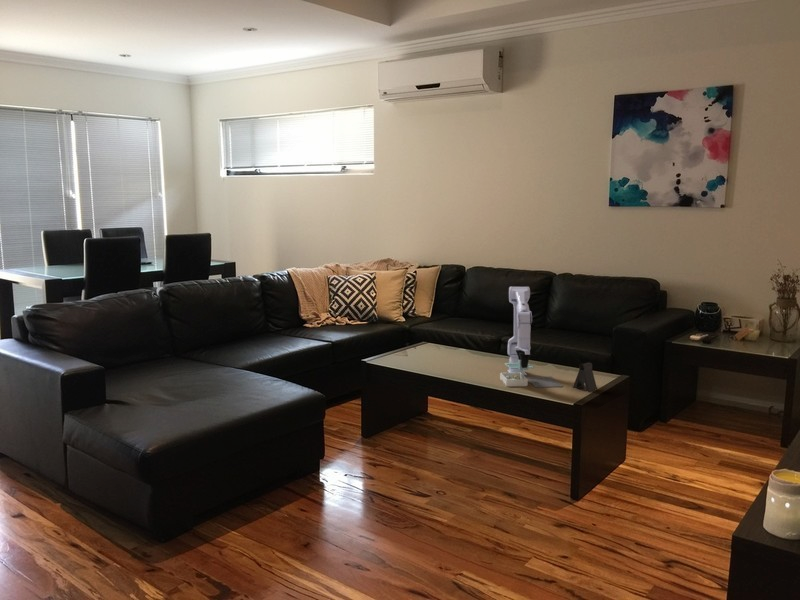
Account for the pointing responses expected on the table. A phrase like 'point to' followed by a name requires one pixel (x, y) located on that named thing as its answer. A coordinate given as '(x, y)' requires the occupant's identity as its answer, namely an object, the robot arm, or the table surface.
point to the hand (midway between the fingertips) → (523, 366)
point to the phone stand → (585, 378)
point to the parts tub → (513, 379)
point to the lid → (517, 365)
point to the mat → (543, 382)
